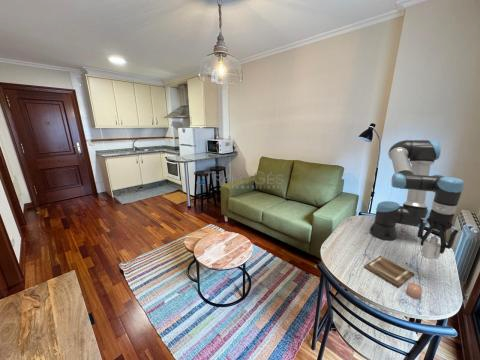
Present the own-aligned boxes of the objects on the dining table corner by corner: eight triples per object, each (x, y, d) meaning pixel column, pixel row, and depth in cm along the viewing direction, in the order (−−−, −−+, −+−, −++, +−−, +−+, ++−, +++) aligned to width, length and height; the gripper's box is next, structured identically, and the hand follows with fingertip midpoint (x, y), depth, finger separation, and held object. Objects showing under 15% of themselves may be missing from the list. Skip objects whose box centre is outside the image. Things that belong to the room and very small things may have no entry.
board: (379, 257, 113) (380, 253, 113) (414, 275, 100) (415, 271, 99) (363, 267, 106) (364, 263, 106) (398, 288, 93) (399, 284, 92)
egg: (409, 288, 93) (410, 281, 92) (422, 295, 88) (424, 288, 87) (403, 292, 90) (405, 285, 89) (417, 300, 86) (419, 293, 85)
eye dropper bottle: (438, 261, 93) (445, 239, 89) (422, 257, 96) (428, 236, 92) (435, 256, 96) (442, 234, 93) (420, 252, 99) (426, 231, 96)
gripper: (414, 206, 94) (404, 247, 101) (468, 221, 80) (452, 268, 87) (421, 202, 98) (411, 242, 105) (474, 216, 83) (458, 262, 90)
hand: (429, 254), depth 96 cm, fingers closed on eye dropper bottle, 5 cm apart
